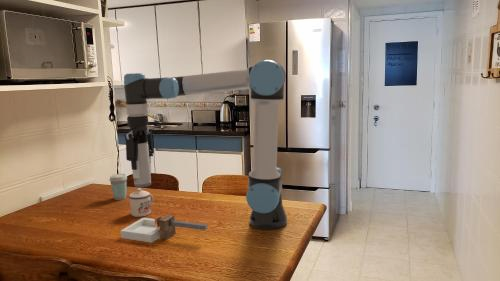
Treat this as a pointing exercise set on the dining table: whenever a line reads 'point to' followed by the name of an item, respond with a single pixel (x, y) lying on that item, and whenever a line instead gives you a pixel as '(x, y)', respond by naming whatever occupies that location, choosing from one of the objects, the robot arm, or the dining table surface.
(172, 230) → the pin mount
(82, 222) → the dining table surface
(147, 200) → the teacup with lid
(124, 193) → the coffee cup
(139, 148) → the travel mug
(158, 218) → the pin
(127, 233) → the tray
